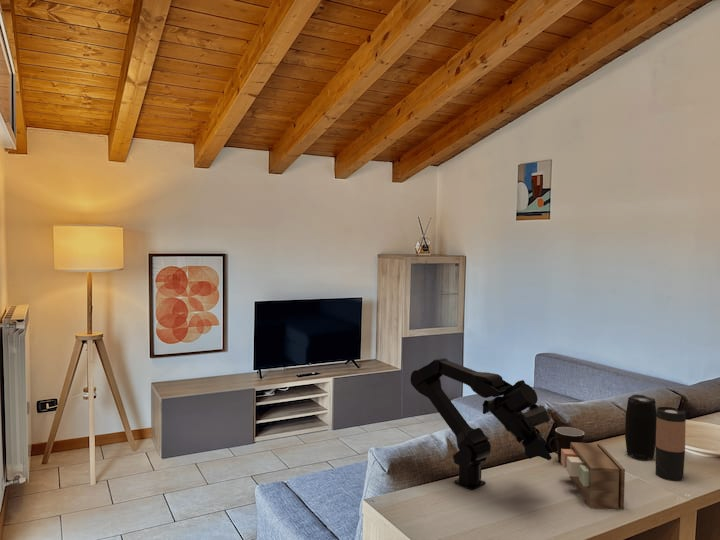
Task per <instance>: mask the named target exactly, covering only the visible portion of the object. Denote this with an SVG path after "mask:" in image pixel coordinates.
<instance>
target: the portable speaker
mask: <svg viewBox="0 0 720 540" xmlns="http://www.w3.org/2000/svg"><path fill="white" fill-rule="evenodd" d="M624 419H625V423H624V424H625V425H624V428H625V429H624V438H625V439H624V440H625V446H626V447H625V448H626V454H627V455H631V456H632V457H633V458H634V460H636V459H637V460H638V461H648V460H649V459H653V458H655V454H656V421H657V407H656V398H651V397H649V396H646V395H642V394H632V395H631V396H629V397H628V400H627V405H626V411H625V418H624Z"/></svg>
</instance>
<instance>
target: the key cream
mask: <svg viewBox="0 0 720 540" xmlns="http://www.w3.org/2000/svg"><path fill="white" fill-rule="evenodd" d="M579 465H583V460H582V459H581V457H567V468H566V472H567V474H568V475H569V477H570V476H574V477H579Z"/></svg>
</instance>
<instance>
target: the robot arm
mask: <svg viewBox="0 0 720 540" xmlns="http://www.w3.org/2000/svg"><path fill="white" fill-rule="evenodd" d="M443 376H445V377H447V378H450V379H452V380H455V381H457V382H459V383H461V384H464V385H467V386H468V387H469V388H470V389H471V390H472V391H473V392H474V393H475V394H477V395H478V396H479V397H481V398H486V399H485V400H484V401H483V403H482V414H484V415H486V414H487V413H491V414H492V415H493V416H494V417H495V418H496V419H497V421H499V422H500V423H501V425H503V426H504V429H505V430H506V431H507V432H508V433H510V434H511V435H512V436H513V437H514V438H515V441H517V442H518V443H519V444H520V443H521V450H522V452H523V453H524V455H525V456H526V457H527V458H528V459H529V460H531V459H532V458H534V457H535V456H538V457H540V458H543V459H545V460H546V461H550V460H551V459H552V458H553V457H552V455H551V453H549V451H548V450H547V448H546V446H547V445H548V441H547V440H546V439H545V437H544V436H543V434H542V433H541V431H540V429H538V428H537V427H536V426H539V425H543V424H544V423H549V422H551V417H550V415H549V412H548V411H547V408H546V407H545V406H544V405H541V404H539V405H538V404H536V403H538V400H539V399H538V395H537V393H536V391H535V389H534V388H533V387H532V386H531V385H529V384H527V383H526V382H525V380H524V379H522V380H518V381H516V382H515V383H514V384H511V383H509V382H507V381H505V380H504V379H503V376H501V375H500V374H497V373H493V372H492V373H491V372H488V371H487V372H486V371H485V372H482V371H476V370H473V369H472V368H468V367H465V366H463V365H460V364H458V363H455V362H454V361H451V360H448V359H447V358H445V357H444V358H443V357H442V358H437V359H436V358H435V359H434V360H432V361H431V362H430V363H429V364H427V365H424V366H423V367H420V368H419V369H415V370H413V371H412V373H411V375H410V384H411V385H412V387H413V388H414V389H415V390H416V391H417V392H418V393H419V394H421V395H422V396H424V397H426V398H427V399H429V401H430V402H431V404H432V405H433V407H434V408H435V409H436V410H437V412H438V413H439V415H440V417H442V419H443V421H444V422H445V423H446V424H447V426H448V427H449V429H450V430H451V432H452V433H453V434H454V435H455V439H456V445H457V449H458V451H457V452H456V453H455V454H454V453H453V457H452V458H453V462H454V464H455V465H458V478H457V479H455V480H454V484H457V485H459V486H462V487H464V488H466V489H469V490H471V491H472V490H476V489H477V488H479V487H481V486H484V485H485V484H486V481H484V480H482V463H483V462H486V461H487V458H488V457H489V456H490V454H491V451H492V450H491V446H492V445H491V443H490V440H489V439H490V438H489V437H488V436H486V434H485V433H484V432H483V430H482V428H480V427H477V428H473V427H471V426H470V425H469V424H468V422H467V420H466V419H465V417H463V415H462V414H461V413H460V412H459V410H458V409H457V407H456V406H455V404H454V403H453V402H452V401H451V399H450V398H449V397H448V395H447V394H446V393H445V391H444V390H443V389H442V382H441V378H442V377H443ZM491 397H492V399H490V400H487V398H491ZM526 409H527V410H526ZM525 410H526V411H525ZM522 411H525V412H522Z"/></svg>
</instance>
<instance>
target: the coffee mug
mask: <svg viewBox="0 0 720 540" xmlns="http://www.w3.org/2000/svg"><path fill="white" fill-rule="evenodd" d="M584 439H585V431H583V430H581V429H578V428H575V427H570V426H559V427H556V428H555V436H553V437H551V438H550V439H548V442H547V445H548V448H549V449H550V450H551V451H552V453H553V452H554V453H555V454H556V455H557V459H558V460H557V462H558V463H559V464H560V463H561V449H570V442H577V443H584ZM554 440H556V441H555V443H556V450H557V451H556V450H555V449H553V448H552V446H551V443H552V441H554ZM560 465H562V463H561V464H560Z"/></svg>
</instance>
